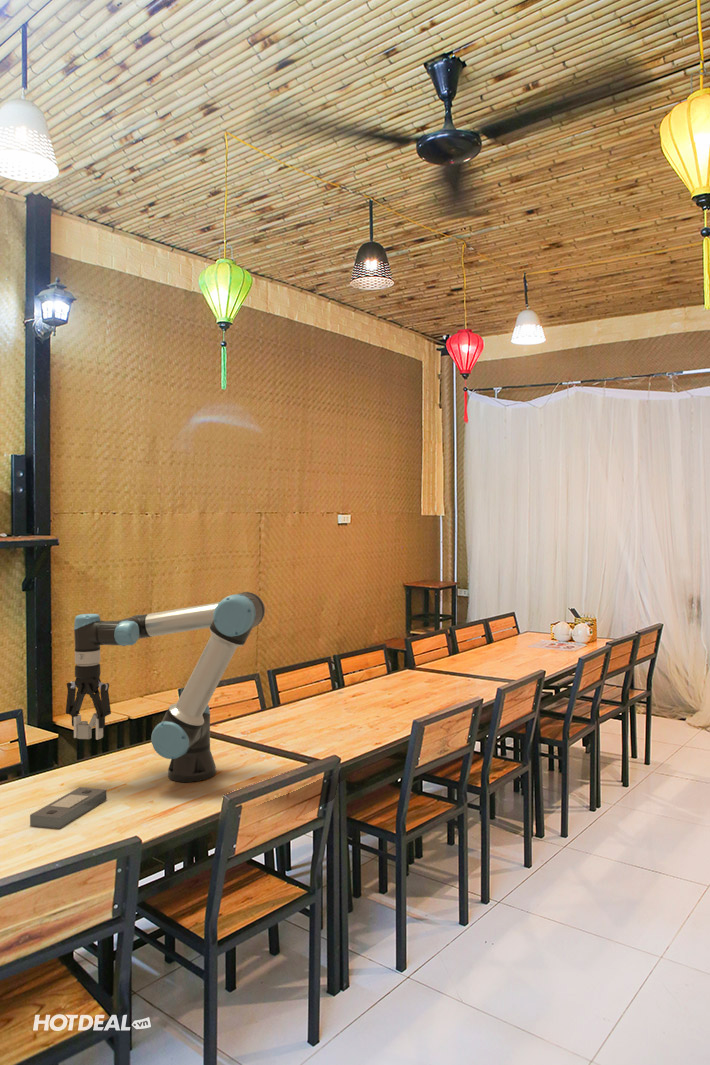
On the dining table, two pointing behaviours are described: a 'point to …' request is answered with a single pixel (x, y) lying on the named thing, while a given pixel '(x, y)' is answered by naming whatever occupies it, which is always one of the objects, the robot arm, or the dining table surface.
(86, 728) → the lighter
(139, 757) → the dining table surface
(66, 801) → the dark grey rectangular base
